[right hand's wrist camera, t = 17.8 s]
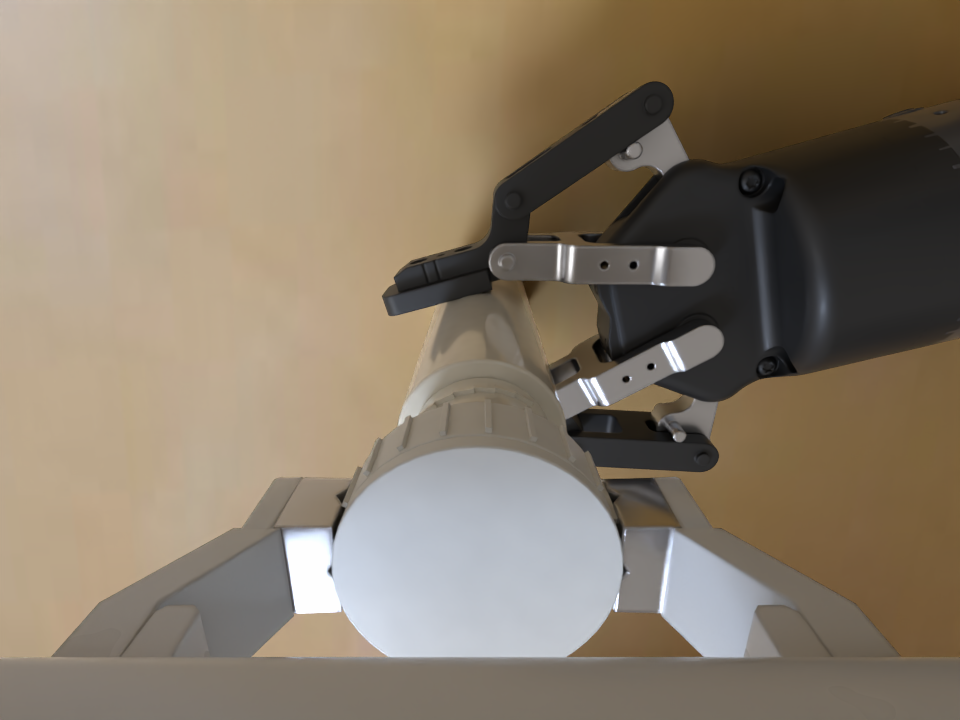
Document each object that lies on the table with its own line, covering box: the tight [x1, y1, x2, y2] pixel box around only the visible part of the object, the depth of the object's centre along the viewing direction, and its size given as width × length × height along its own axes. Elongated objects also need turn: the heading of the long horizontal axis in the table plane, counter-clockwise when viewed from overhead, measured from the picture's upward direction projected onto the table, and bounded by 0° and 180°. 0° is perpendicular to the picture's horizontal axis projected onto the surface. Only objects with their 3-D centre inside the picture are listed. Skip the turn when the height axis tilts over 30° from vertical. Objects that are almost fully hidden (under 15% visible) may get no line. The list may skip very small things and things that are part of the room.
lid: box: [331, 399, 624, 657], centre depth 9 cm, size 5×5×2 cm
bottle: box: [398, 280, 567, 430], centre depth 18 cm, size 4×4×15 cm
